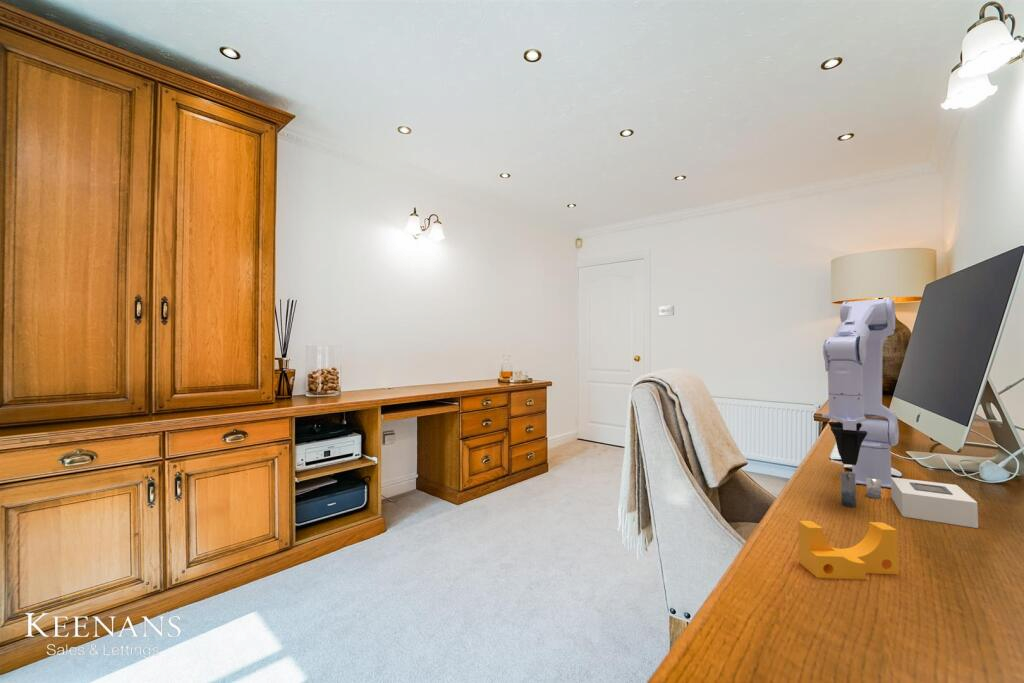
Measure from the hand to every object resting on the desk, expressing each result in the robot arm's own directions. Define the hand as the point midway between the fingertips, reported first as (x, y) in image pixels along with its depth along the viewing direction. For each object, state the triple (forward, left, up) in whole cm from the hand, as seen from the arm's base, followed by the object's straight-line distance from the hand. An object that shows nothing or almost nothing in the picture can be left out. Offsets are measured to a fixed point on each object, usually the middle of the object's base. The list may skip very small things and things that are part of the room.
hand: (847, 460), depth 88 cm
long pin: (0, 0, -9) cm, 9 cm away
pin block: (-4, +13, -9) cm, 16 cm away
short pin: (-9, +5, -9) cm, 14 cm away
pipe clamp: (+33, -2, -10) cm, 34 cm away
